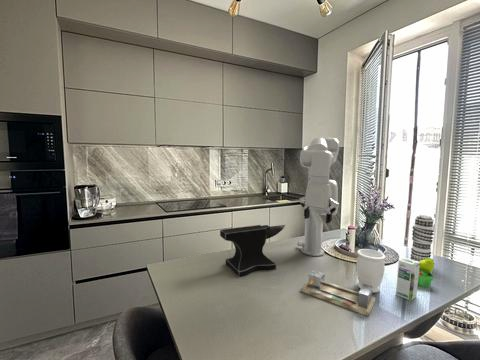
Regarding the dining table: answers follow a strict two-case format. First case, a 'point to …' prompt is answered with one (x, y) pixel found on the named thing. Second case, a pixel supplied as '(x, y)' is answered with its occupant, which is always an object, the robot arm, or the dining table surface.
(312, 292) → the gauge board
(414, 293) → the syrup box
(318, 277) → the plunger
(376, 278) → the jar
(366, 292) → the gauge hardware
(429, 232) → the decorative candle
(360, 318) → the dining table surface
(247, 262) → the anvil
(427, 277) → the fruit basket
